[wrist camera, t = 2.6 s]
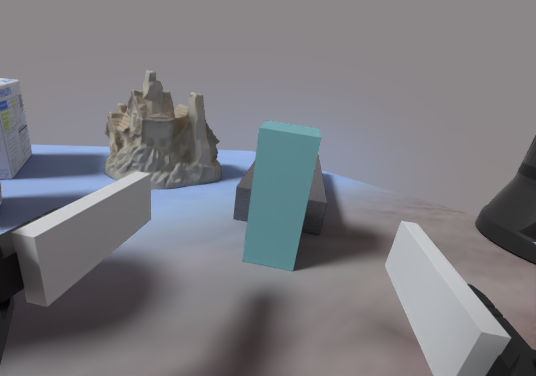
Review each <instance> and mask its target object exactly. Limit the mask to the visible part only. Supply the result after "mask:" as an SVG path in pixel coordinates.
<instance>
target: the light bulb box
mask: <svg viewBox="0 0 536 376" xmlns="http://www.w3.org/2000/svg"><path fill="white" fill-rule="evenodd" d="M31 155H32V150H31V144H30V139H29V134H28V128H27V123H26V117H25V111H24V106H23V101H22V95H21V88H20V82H19V80H14V79H2V78H0V179H13V177H14V176H15V175H16V174H17V172H18V171H19V170H20V169H21V167H22V166H23V165H24V164H25V162H26V161H27V160H28V159H29V157H30V156H31Z"/></svg>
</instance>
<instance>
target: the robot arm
mask: <svg viewBox="0 0 536 376" xmlns="http://www.w3.org/2000/svg"><path fill="white" fill-rule="evenodd" d="M150 220H151V186H150V174H149V173H144V172H139V171H136V172H134V173H132V174H130V175H128V176H126V177H124V178H122V179H120V180H118V181H116V182H114V183H111V184H109V185H107V186H105V187H103V188H101V189H99V190H97V191H95V192H93V193H91V194H89V195H87V196H85V197H83V198H81V199H79V200H77V201H75V202H73V203H71V204H68V205H66V206H64V207H60V208H56V209H53V210H51V211H49V212H47V213H45V214H43V215H42V216H39V217H36V218H34V219H32V221H28V222H26V223H24V224H22V225H20V226H18V227H16V228H13V229H11V230H9V231H7V232H5V233H3V234H1V235H0V363H1V359H2V355H3V351H4V346H5V342H6V338H7V334H8V330H9V326H10V321H11V317H12V313H13V309H14V305H15V304H14V299H13V295H15V294H16V293H18V292H19V291H20V290H22V289H23V288H24V293H25V297H26V302H28V303H32V304H37V305H41V306H45V307H48V306H49V305H50V304H51V303H53V302H54V301H55V300H56V299H57V298H59V297H60V296H61V295H62V294H63V293H64V292H66V291H67V290H68V289H69V288H70V287H72V286H73V285H74V284H75V283H76V282H77V281H79V280H80V279H81V278H82V277H83V276H85V275H86V274H87V273H88V272H89V271H90V270H92V269H93V268H94V267H95V266H96V265H98V264H99V263H100V262H101V261H102V260H103V259H105V258H106V257H107V256H108V255H109V254H111V253H112V252H113V251H114V250H115V249H116V248H118V247H119V246H120V245H121V244H122V243H124V242H125V241H126V240H127V239H128V238H130V237H131V236H132V235H133V234H134V233H135V232H137V231H138V230H139V229H140V228H141V227H143V226H144V225H145V224H146V223H147V222H148V221H150ZM475 224H476V227H477V228H478V230H479V231H480V232H481V233H482V234H484V235H485V236H486V237H487V238H489V239H490V240H492V241H493V242H495V243H496V244H498V245H500V246H501V247H503V248H505V249H507V250H508V251H510V252H512V253H514V254H516V255H518V256H520V257H522V258H525V259H527V260H529V261H531V262H533V263H536V136H535V138H534V140H533V142H532V144H531V146H530V148H529V150H528V152H527V154H526V156H525V158H524V160H523V162H522V164H521V166H520V168H519V170H518V172H517V174H516V176H515V177H514V178H513V180H512V181H511V182H510V183H509V184H507V186H506V187H504V189H502V191H500V192H499V193H498V194H497V195H496V196H495V198H494V199H493V200H492V201H491V202H490V203H489V204H488V205H486V206H485V207H484V208H483V209H482V210H481V212H480V214H479V216H478V218H477V220H476V223H475ZM385 268H386V270H387V272H388V274H389V277H390V279H391V281H392V283H393V286H394V288H395V290H396V292H397V295H398V297H399V299H400V301H401V304H402V306H403V308H404V310H405V313H406V315H407V317H408V319H409V322H410V324H411V326H412V328H413V331H414V333H415V335H416V337H417V340H418V342H419V344H420V346H421V349H422V351H423V353H424V355H425V358H426V360H427V362H428V364H429V367H430V369H431V371H432V373H433V376H536V350H533V349H531V347H530V346H529V345H528V344H527V343H526V342H525V341H524V339H523V338H522V337H521V336H520V335H519V334H518V332H517V331H516V330H515V329H514V328H513V327H512V326H511V324H510V323H509V322H508V321H507V320H506V319H505V318H503V315H502V314H501V313H500V312H499V311H498V309H496V308H495V306H494V305H493V304H492V302H491V301H490V300H489V299H488V298H487V297H486V296H485V295H484V294H483V293H482V292H480V291H479V290H478V289H476V288H475V287H474V286H472V285H470V284H466V282H465V281H464V280H463V279H462V278H461V276H460V275H459V274H458V273H457V271H456V270H455V269H454V268H453V267H452V265H451V264H450V263H449V262H448V261H447V259H446V258H445V257H444V256H443V255H442V253H441V252H440V251H439V250H438V248H437V247H436V246H435V245H434V244H433V242H432V241H431V240H430V239H429V238H428V236H427V235H426V234H425V233H424V231H423V230H422V229H421V228H420V227H419V225H418V224H416V223H411V222H405V221H401V223H400V226H399V229H398V232H397V234H396V237H395V240H394V242H393V245H392V248H391V251H390V253H389V256H388V259H387V262H386V264H385Z"/></svg>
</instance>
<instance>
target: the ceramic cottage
mask: <svg viewBox="0 0 536 376" xmlns="http://www.w3.org/2000/svg"><path fill="white" fill-rule="evenodd" d="M162 90H163V87H162V85H161V82H160V81H157V80H156V72H154V71H150V70H147V71H146V76H145V80H144V84H143V90H141V91H140V90H135V89H133V90H132V91H131V96H130V99H129V102H128V109H126V108H127V106H126V105H125V104H122V103H118V107H117V112H113V111H110V112H109V115H108V121H107V125H106V130H105V134H106V135H107V136H108V137H109V143H110V156H109V157H108V158H107V160H106V161H105V169H104V170H105V174H106V175H108V176H109V177H111V178H113V179H114V180H116V181H118V180H120V179H122V178H124V177H126V176H128V175H130V174H132V173H134V172H136V171H139V172H144V173H149V174H150V186H151V189H168V188H169V189H173V188H179V187H183V186H185V187H186V186H193V185H199V184H205V183H211V182H215V181H218V180H220V179H221V177H222V175H221V165H220V163H219V162H218V161H217V160H216V158H217V154H218V151H217V148H216V144H217V143H218V142H219V140H218V139H217V138H216V136H215V135H214V134H213V132H212V130H211V129H210V128H209V126H208V125H207V123H206V120H205V111H204V103H203V95H202V94H198V93H194V92H192V93H191V94H190V98H189V103H188V106H184V105H182V104H178V106H177V108H176V109H175V111H174V107H173V102H172V98H171V95H170V91H162Z"/></svg>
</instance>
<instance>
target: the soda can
mask: <svg viewBox="0 0 536 376" xmlns="http://www.w3.org/2000/svg"><path fill="white" fill-rule="evenodd" d="M1 203H2V194H1V184H0V205H1Z"/></svg>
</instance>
